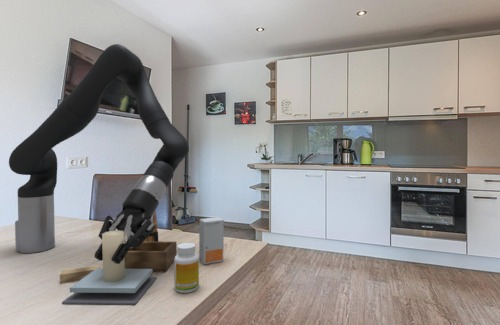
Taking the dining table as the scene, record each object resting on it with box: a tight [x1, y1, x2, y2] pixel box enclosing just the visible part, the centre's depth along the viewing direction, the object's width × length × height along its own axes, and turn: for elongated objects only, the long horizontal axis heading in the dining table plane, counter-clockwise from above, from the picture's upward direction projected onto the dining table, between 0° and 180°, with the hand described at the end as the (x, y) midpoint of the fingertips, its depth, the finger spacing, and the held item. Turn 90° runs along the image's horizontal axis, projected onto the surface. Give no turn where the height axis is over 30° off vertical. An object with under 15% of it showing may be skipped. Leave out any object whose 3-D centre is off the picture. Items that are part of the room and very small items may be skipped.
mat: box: [61, 276, 158, 306], centre depth 61 cm, size 15×12×1 cm
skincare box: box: [198, 216, 225, 266], centre depth 78 cm, size 6×4×12 cm
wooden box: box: [125, 240, 178, 273], centre depth 76 cm, size 13×9×5 cm
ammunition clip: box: [137, 211, 159, 241], centre depth 88 cm, size 11×2×12 cm, turn 132°
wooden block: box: [59, 265, 100, 285], centre depth 67 cm, size 8×2×2 cm, turn 113°
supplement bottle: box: [173, 242, 200, 294], centre depth 62 cm, size 5×5×10 cm
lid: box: [69, 229, 154, 293], centre depth 61 cm, size 14×10×11 cm
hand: (106, 260), depth 60 cm, fingers closed on lid, 4 cm apart
